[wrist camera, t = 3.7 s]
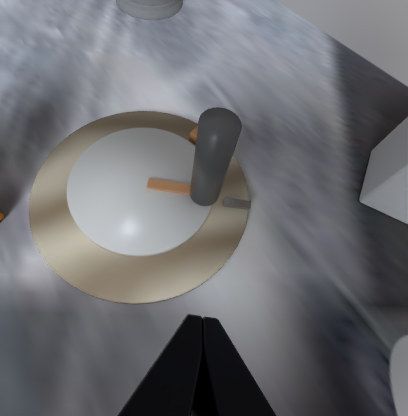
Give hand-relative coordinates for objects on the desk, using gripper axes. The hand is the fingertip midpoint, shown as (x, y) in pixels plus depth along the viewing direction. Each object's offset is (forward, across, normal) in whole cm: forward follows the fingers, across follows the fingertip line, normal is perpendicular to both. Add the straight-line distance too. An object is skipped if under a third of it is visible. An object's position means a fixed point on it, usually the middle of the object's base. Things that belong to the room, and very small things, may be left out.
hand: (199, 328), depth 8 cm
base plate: (+17, +5, +2) cm, 18 cm away
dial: (+16, +5, +1) cm, 17 cm away
